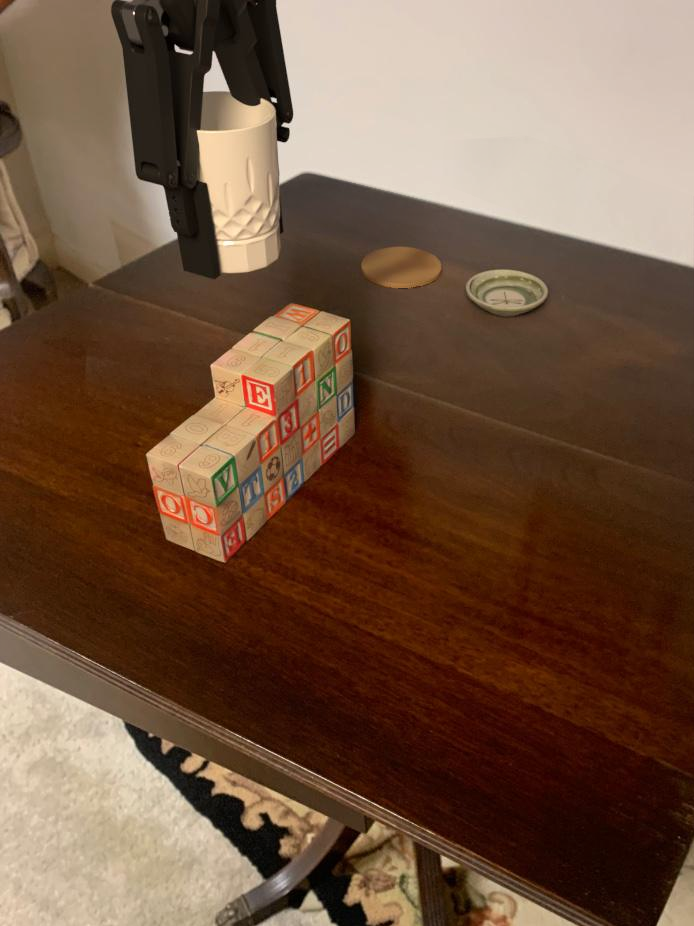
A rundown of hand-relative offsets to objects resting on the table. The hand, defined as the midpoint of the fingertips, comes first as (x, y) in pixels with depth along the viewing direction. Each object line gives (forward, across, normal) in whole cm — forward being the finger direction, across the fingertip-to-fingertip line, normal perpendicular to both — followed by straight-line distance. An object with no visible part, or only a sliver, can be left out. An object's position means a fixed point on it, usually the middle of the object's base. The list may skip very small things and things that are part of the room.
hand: (235, 250), depth 67 cm
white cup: (0, 0, 0) cm, 0 cm away
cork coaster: (+21, +42, +8) cm, 47 cm away
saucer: (+21, +39, -7) cm, 45 cm away
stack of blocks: (+21, -2, -1) cm, 21 cm away
